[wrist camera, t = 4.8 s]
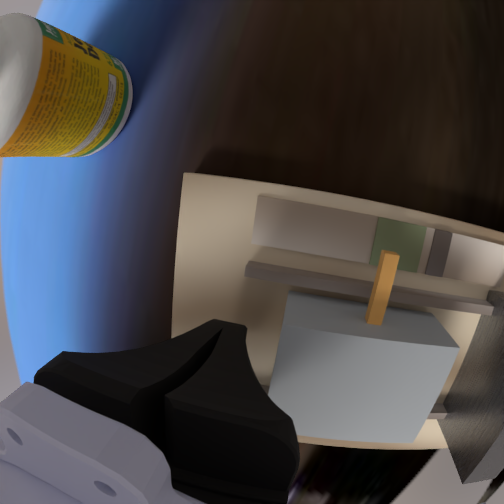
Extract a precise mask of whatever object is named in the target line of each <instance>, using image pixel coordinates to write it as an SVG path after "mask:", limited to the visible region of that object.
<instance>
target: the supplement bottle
mask: <svg viewBox="0 0 504 504" xmlns="http://www.w3.org/2000/svg"><path fill="white" fill-rule="evenodd" d="M132 99H133V89H132V82H131V78H130V75H129V73H128V71H127V69H126V67H125V66H124V64H123V63H122V62H121V61H120V60H118V59H117V58H115V57H113V56H111V55H110V54H108V53H106V52H104V51H102V50H100V49H98V48H96V47H94V46H92V45H90V44H88V43H86V42H84V41H82V40H81V39H78V38H76V37H74V36H72V35H70V34H68V33H66V32H64V31H62V30H60V29H58V28H56V27H54V26H51V25H49V24H47V23H45V22H43V21H40V20H38V19H36V18H33V17H31V16H29V15H25V14H21V13H11V14H6V15H3V16H1V17H0V157H28V156H36V157H84V156H89V155H92V154H94V153H96V152H98V151H100V150H101V149H103V148H104V147H106V146H107V145H108V144H109V143H111V142H112V141H113V140H114V139H115V138H116V137H117V135H118V134H119V132H120V131H121V130H122V128H123V126H124V124H125V122H126V120H127V118H128V115H129V112H130V109H131V105H132Z"/></svg>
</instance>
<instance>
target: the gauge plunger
mask: <svg viewBox="0 0 504 504" xmlns="http://www.w3.org/2000/svg"><path fill="white" fill-rule="evenodd" d="M399 257H400V256H399V255H398V254H397V253H396V252H392V251H387V250H381V255H380V259H379V264H378V268H377V272H376V276H375V281H374V285H373V289H372V293H371V296H370V300H369V304H368V303H362V302H356V301H349V300H343V299H337V298H331V297H325V296H319V295H313V294H307V293H301V292H296V291H290V290H289V291H288V297H287V302H286V307H285V313H284V318H283V323H282V328H281V333H280V338H279V343H278V348H277V353H276V358H275V363H274V368H273V372H272V377H271V382H270V387H269V392H268V396H269V397H270V399H271V400H272V401H273V402H274V403H275V404H276V405H277V406H278V407H279V408H280V409H281V410H283V411H284V412H285V413H286V414H287V415H289V416H290V417H291V418H292V420H293V423H294V426H295V430H296V434H297V435H301V436H309V437H317V438H325V439H335V440H347V441H360V442H380V443H413V442H414V440H415V438H416V437H417V435H418V433H419V432H420V430H421V428H422V426H423V425H424V423H425V421H426V419H427V417H428V415H429V414H430V412H431V410H432V408H433V406H434V404H435V402H436V400H437V398H438V396H439V394H440V392H441V390H442V388H443V386H444V384H445V382H446V380H447V377H448V375H449V373H450V371H451V369H452V366H453V364H454V362H455V359H456V357H457V355H458V352H459V350H460V347H459V346H458V344H457V343H456V342H455V341H454V339H453V338H452V337H451V336H450V334H449V333H448V332H447V331H446V329H445V328H444V327H443V326H442V325H441V323H440V322H439V321H438V320H437V318H436V317H435V316H434V315H433V314H432V313H429V312H422V311H415V310H408V309H401V308H394V307H388V306H387V304H388V300H389V297H390V293H391V289H392V285H393V281H394V278H395V274H396V269H397V265H398V261H399Z"/></svg>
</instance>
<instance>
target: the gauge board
mask: <svg viewBox="0 0 504 504" xmlns="http://www.w3.org/2000/svg"><path fill="white" fill-rule="evenodd" d="M381 250H387V251H392V252H396V253H397V254H398V255H399V256H400V257H399V261H398V265H397V269H396V274H395V278H394V281H393V285H392V289H391V293H390V297H389V300H388V304H387V306H388V307H394V308H401V309H408V310H415V311H422V312H429V313H432V314H433V315H434V316H435V317H436V318H437V320H438V321H439V322H440V323H441V325H442V326H443V327H444V328H445V329H446V331H447V332H448V333H449V334H450V336H451V337H452V338H453V339H454V341H455V342H456V343H457V344H458V346H459V347H460V350H459V352H458V355H457V357H456V359H455V362H454V364H453V366H452V369H451V371H450V373H449V375H448V377H447V380H446V382H445V384H444V386H443V388H442V390H441V392H440V394H439V396H438V398H437V400H436V402H435V404H434V406H433V408H432V410H431V412H430V414H429V415H428V417H427V419H426V421H425V423H424V425H423V426H422V428H421V430H420V432H419V433H418V435H417V437H416V438H415V440H414V442H413V443H380V442H360V441H347V440H335V439H325V438H317V437H309V436H301V435H297V439H298V442H302V443H310V444H319V445H328V446H339V447H351V448H368V449H439V448H448V445H447V443H446V440H445V438H444V436H443V433H442V431H441V428H440V426H439V424H438V421H437V419H444V418H445V417H446V415H447V411H446V409H445V407H444V405H443V402H444V400H445V398H446V396H447V394H448V392H449V390H450V388H451V386H452V384H453V382H454V380H455V378H456V375H457V373H458V371H459V369H460V367H461V364H462V362H463V360H464V357H465V355H466V353H467V350H468V348H469V345H470V343H471V340H472V338H473V335H474V333H475V330H476V327H477V325H478V322H479V319H480V316H481V314H482V315H490V316H491V315H492V312H493V309H494V306H492V305H491V304H490V303H489V302H487V301H486V298H487V295H488V292H489V290H495V291H501V292H504V233H503V232H500V231H496V230H493V229H489V228H486V227H482V226H478V225H475V224H471V223H467V222H463V221H459V220H455V219H451V218H447V217H443V216H439V215H435V214H431V213H427V212H423V211H418V210H414V209H409V208H405V207H400V206H396V205H391V204H386V203H382V202H377V201H372V200H367V199H362V198H357V197H352V196H346V195H341V194H335V193H330V192H324V191H319V190H313V189H307V188H301V187H295V186H288V185H282V184H275V183H269V182H262V181H255V180H248V179H240V178H233V177H225V176H216V175H208V174H199V173H184V175H183V184H182V193H181V203H180V212H179V223H178V234H177V246H176V259H175V273H174V290H173V309H172V334H171V338H174V337H176V336H179V335H181V334H183V333H186V332H188V331H190V330H192V329H194V328H196V327H198V326H200V325H202V324H204V323H205V322H207V321H209V320H212V319H218V320H222V321H227V322H232V323H237V324H242V325H245V326H246V327H247V336H246V346H247V351H248V356H249V359H250V362H251V365H252V368H253V370H254V373H255V375H256V377H257V379H258V381H259V383H260V384H261V386H262V388H263V389H264V390H265V392H266V393H267V395H268V392H269V387H270V382H271V377H272V372H273V368H274V363H275V358H276V353H277V348H278V343H279V338H280V333H281V328H282V323H283V318H284V313H285V307H286V302H287V297H288V291H289V290H290V291H296V292H301V293H307V294H313V295H319V296H325V297H331V298H337V299H343V300H349V301H356V302H362V303H368V304H369V300H370V296H371V293H372V289H373V285H374V281H375V276H376V272H377V268H378V264H379V259H380V255H381Z"/></svg>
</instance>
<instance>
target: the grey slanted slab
mask: <svg viewBox="0 0 504 504" xmlns="http://www.w3.org/2000/svg"><path fill="white" fill-rule="evenodd" d="M486 301H487V302H489V303H490V304H491V305H492V306H494V309H493V312H492V315H491V316H490V315H482V314H481V316H480V319H479V322H478V325H477V327H476V330H475V333H474V335H473V338H472V340H471V343H470V345H469V348H468V350H467V353H466V355H465V357H464V360H463V362H462V364H461V367H460V369H459V371H458V373H457V375H456V378H455V380H454V382H453V384H452V386H451V388H450V390H449V392H448V394H447V396H446V398H445V400H444V402H443V405H444V407H445V409H446V411H447V415H446V417H445V418H444V419H437V421H438V424H439V426H440V428H441V431H442V433H443V436H444V438H445V440H446V443H447V445H448V448H449V450H450V453H451V455H452V458H453V460H454V463H455V465H456V468H457V471H458V474H459V476H460V479H461V482H462V484H466V483H472V482H478V481H483V480H488V479H493V478H496V477H497V475H498V474H499V473H500V472H501V470H502V469H503V468H504V292H501V291H495V290H489V292H488V295H487V298H486Z"/></svg>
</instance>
